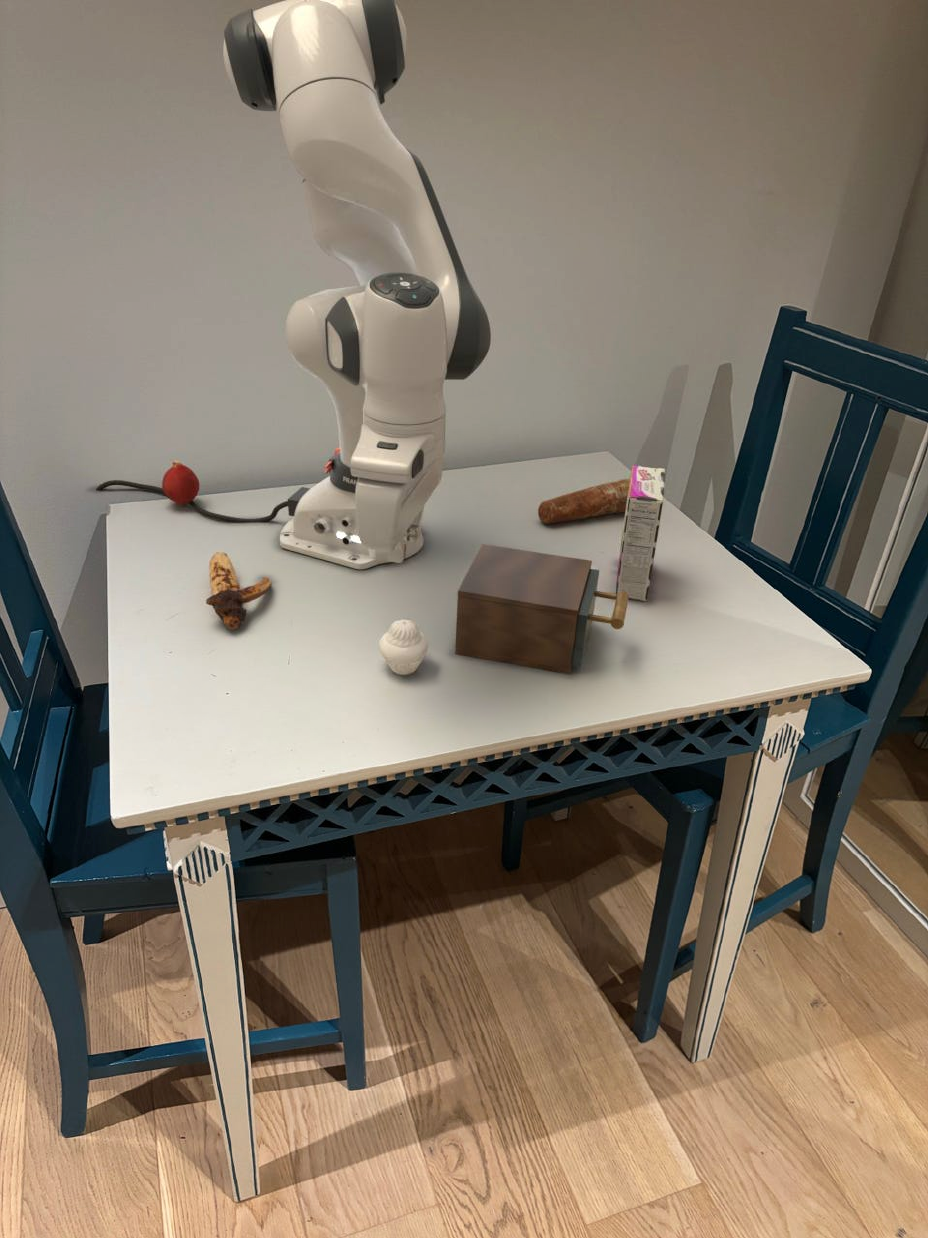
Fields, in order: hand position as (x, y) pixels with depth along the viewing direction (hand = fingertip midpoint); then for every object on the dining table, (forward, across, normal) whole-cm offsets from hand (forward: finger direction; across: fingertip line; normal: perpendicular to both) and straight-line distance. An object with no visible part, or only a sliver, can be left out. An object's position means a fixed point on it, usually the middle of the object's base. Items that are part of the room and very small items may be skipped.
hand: (404, 548), depth 104 cm
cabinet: (+17, -12, +13) cm, 24 cm away
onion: (+17, -33, -49) cm, 62 cm away
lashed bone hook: (+17, -9, -27) cm, 33 cm away
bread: (+17, -51, +17) cm, 56 cm away
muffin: (+17, 0, 0) cm, 17 cm away
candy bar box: (+17, -31, +26) cm, 44 cm away
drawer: (+16, -12, +17) cm, 26 cm away
